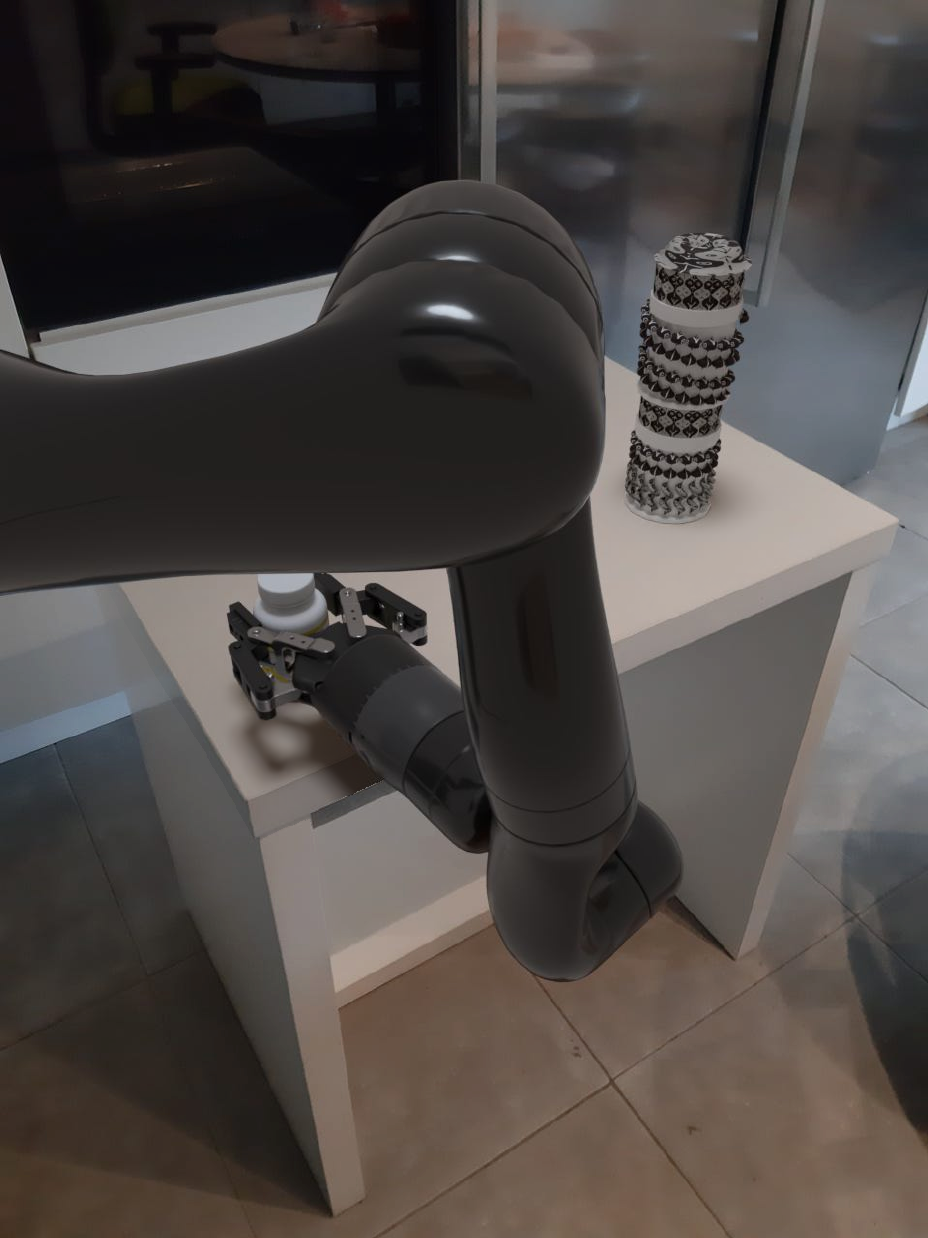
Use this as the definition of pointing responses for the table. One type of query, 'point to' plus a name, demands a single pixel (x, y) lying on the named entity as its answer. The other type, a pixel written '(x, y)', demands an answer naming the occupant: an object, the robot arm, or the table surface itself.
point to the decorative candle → (685, 376)
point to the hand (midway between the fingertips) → (274, 596)
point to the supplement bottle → (290, 606)
